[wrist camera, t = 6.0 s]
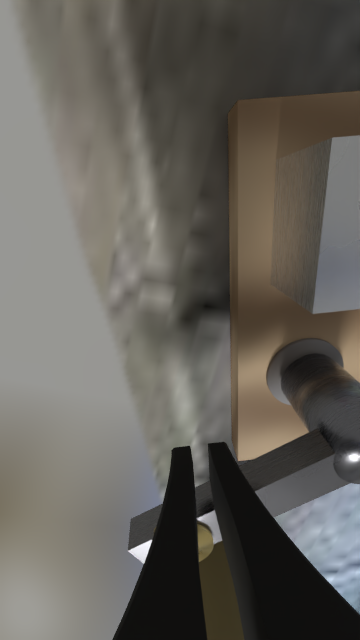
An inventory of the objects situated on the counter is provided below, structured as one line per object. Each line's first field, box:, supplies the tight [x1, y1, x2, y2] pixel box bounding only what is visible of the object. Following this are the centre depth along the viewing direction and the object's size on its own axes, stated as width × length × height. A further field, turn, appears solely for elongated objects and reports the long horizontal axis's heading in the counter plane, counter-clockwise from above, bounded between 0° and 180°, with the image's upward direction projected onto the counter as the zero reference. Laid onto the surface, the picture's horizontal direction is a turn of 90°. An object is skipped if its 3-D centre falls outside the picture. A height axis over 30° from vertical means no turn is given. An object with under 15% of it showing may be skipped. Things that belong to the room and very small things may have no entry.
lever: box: [128, 353, 360, 563], centre depth 12 cm, size 12×3×5 cm, turn 121°
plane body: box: [228, 91, 360, 461], centre depth 14 cm, size 18×7×2 cm, turn 4°
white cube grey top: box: [270, 135, 360, 314], centre depth 10 cm, size 5×4×4 cm
